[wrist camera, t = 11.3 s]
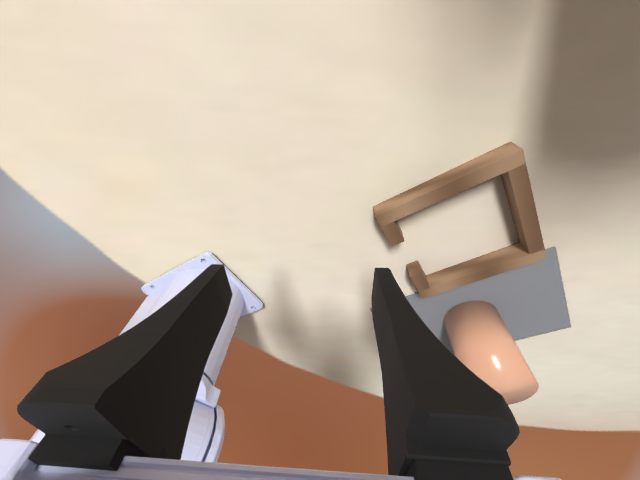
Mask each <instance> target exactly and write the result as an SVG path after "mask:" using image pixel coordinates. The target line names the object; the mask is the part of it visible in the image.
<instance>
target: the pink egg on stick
mask: <svg viewBox="0 0 640 480" xmlns="http://www.w3.org/2000/svg"><path fill="white" fill-rule="evenodd" d="M443 322H444V326H445V328H446V331H447V334H448V337H449V340H450V343H451V346H452V349H453V352H454V355H455V356H456V357H457V358H458V359H459V360H460V361H461V362H462V363H463V364H464V365H465V366H466V367H467V368H468V369H470V370H471V371H472V372H473V373H474V374H475V375H476V376H478V377H479V378H480V379H481V380H483V381H484V382H485V383H487V384H488V385H489V386H490V387H492V388H493V389H494V390H496V391H497V392H498V393H499V394H501V395H502V396H503V398H504V399H505V401H506V403H507V405H509V404H514V403H518V402H521V401H523V400H526V399H528V398H529V397H531V396H532V395H534V394H535V393H536V391H537V390H538V382H537V381H536V379H535V377H534V375H533V373H532V372H531V370H530V368H529V366H528V364H527V363H526V361H525V359H524V357H523V355H522V353H521V352H520V350H519V348H518V346H517V344H516V343H515V341H514V339H513V337H512V335H511V334H510V332H509V330H508V328H507V326H506V324H505V323H504V321H503V319H502V317H501V315H500V314H499V312H498V310H497V308H496V307H495V306H494V305H493V304H491V303H488V302H485V301H467V302H463V303H460V304H458V305H456V306H454V307H452V308H451V309H450V310H449V311H448V312H447V313H446V314H445V316H444V319H443Z"/></svg>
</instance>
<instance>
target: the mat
mask: <svg viewBox="0 0 640 480" xmlns="http://www.w3.org/2000/svg"><path fill="white" fill-rule="evenodd" d="M545 253H546V257H547V259H544V260H541V261H538V262H534V263H531V264H528V265H525V266H522V267H519V268H516V269H513V270H510V271H507V272H504V273H501V274H498V275H495V276H491V277H488V278H485V279H482V280H479V281H476V282H473V283H470V284H467V285H464V286H461V287H458V288H455V289H452V290H448V291H445V292H442V293H439V294H436V295H433V296H430V297H427V298H424V299H422V297H421V295H420V294H419V292H418V293H415V294H412V295H409V296H406V298H407V300H408V301H409V303H410V304H411V306H412V307H413V309H414V310H415V311H416V313H417V314H418V315H419V317H420V318H421V319H422V321H423V322H424V323H425V324H426V326H427V327H428V328H429V329H430V330H431V332H432V333H433V334H434V335H435V336H436V337H437V338H438V339H439V340H440V341H441V343H442V344H443V345H444V346H445V347H446V348H447V349H448V350H449V351H450V352H451V353H452V354H453V355H454V352H453V349H452V346H451V343H450V340H449V337H448V334H447V331H446V328H445V326H444V322H443V319H444V316H445V314H446V313H447V312H448V311H449V310H450V309H451V308H452V307H454V306H456V305H458V304H460V303H463V302H467V301H485V302H488V303H491V304H493V305H494V306H495V307H496V308H497V310H498V312H499V314H500V315H501V317H502V319H503V321H504V323H505V324H506V326H507V328H508V330H509V332H510V334H511V335H512V337H513V339H514V341H516V340H520V339H524V338H528V337H532V336H536V335H540V334H545V333H549V332H553V331H557V330H561V329H565V328H569V327H571V324H570V319H569V314H568V308H567V303H566V298H565V293H564V288H563V283H562V278H561V272H560V267H559V262H558V257H557V252H556V248H555V247H552V248H549V249H546V250H545ZM371 311H372V308H371Z"/></svg>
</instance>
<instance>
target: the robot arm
mask: <svg viewBox="0 0 640 480" xmlns="http://www.w3.org/2000/svg"><path fill="white" fill-rule="evenodd" d="M204 259H205V260H204ZM142 291H143V292H144V293H145V294H147V295H148V297H147V298H146V299H145V301H144V302H143V303H142V305H141V306H140V308H139V309H138V311H137V312H136V313H135V314H134V316H133V317H132V318H131V320H130V321H129V323H128V324H127V325H126V326H125V328H124V329H123V331H122V332H121V333H120V335H119V336H117V337H116V338H114V339H113V340H111V341H109V342H107V343H105V344H104V345H102V346H100V347H98V348H96V349H95V350H92V351H90V352H89V353H87V354H85V355H83V356H81V357H79V358H76V359H74V360H72V361H70V362H68V363H66V364H64V365H61V366H59V367H57V368H55V369H53V370H51V371H48V372H46V374H45V375H44V376H43V377H42V378H41V379H40V381H39V382H38V383H37V384H36V385H35V386H34V387H33V389H32V390H31V391H30V392H29V393H28V394H27V395H26V396H25V398H24V399H23V400H22V401H21V402H20V403H19V405H18V407H17V411H18V413H19V415H20V416H21V417H22V418H23V419H25V420H26V421H27V422H29V423H30V424H32V425H33V426H35V427H36V428H37V429H38V430H37V431H36V433H35V434H34V435H33V436H32V438H31V439H30V440H17V439H4V438H3V439H0V480H561V479H559V478H554V477H539V476H516V477H513V478H512V475H511V472H510V470H509V467H508V466H510V465H511V462H510V458H509V456H508V453H507V451H506V450H507V448H508V447H509V446H510V445H511V444H512V443H513V442H514V441H515V440H516V438H517V437H518V435H519V433H520V432H519V427H518V425H517V422H516V420H515V418H514V416H513V414H512V412H511V410H510V408H509V406H508V405H507V403H506V401H505V399H504V398H503V396H502V395H501V394H499V393H498V392H497V391H496V390H494V389H493V388H492V387H490V386H489V385H488V384H487V383H485V382H484V381H483V380H481V379H480V378H479V377H478V376H476V375H475V374H474V373H473V372H472V371H471V370H470V369H468V368H467V367H466V366H465V365H464V364H463V363H462V362H461V361H460V360H459V359H458V358H457V357H456V356H454V355H453V354H452V353H451V352H450V351H449V350H448V349H447V348H446V347H445V346H444V345H443V344H442V343H441V341H440V340H439V339H438V338H437V337H436V336H435V335H434V334H433V333H432V332H431V330H430V329H429V328H428V327H427V326H426V324H425V323H424V322H423V321H422V319H421V318H420V317H419V315H418V314H417V313H416V311H415V310H414V309H413V307H412V306H411V304H410V303H409V301H408V300H407V298H406V297H405V295H404V294H403V292H402V291H401V289H400V287H399V285H398V284H397V282H396V280H395V278H394V276H393V274H392V272H391V270H390V269H389V268H375V272H374V281H373V290H372V314H373V323H374V328H375V334H376V340H377V346H378V351H379V357H380V363H381V370H382V380H383V393H384V406H385V420H386V437H387V453H388V472H389V473H388V474H389V475H379V474H365V473H352V472H338V471H325V470H310V469H297V468H284V467H270V466H256V465H243V464H229V463H217V460H218V458H219V455H220V452H221V448H222V445H223V441H224V435H225V421H224V420H225V419H224V412H223V410H222V408H221V407H220V406H218V405H216V404H217V401H218V398H219V395H220V393H221V391H220V390H219V389H217V388H216V387H214V385H215V383H216V380H217V378H218V375H219V372H220V369H221V367H222V364H223V361H224V358H225V356H226V353H227V350H228V347H229V344H230V342H231V339H232V336H233V334H234V331H235V328H236V325H237V323H238V320H239V317H242V316H244V315H247V314H250V313H252V312H255V311H257V310H260V309H262V307H263V303H262V302H261V301H260V300H259V299H258V298H257V297H256V296H255V295H254V294H253V293H252V292H251V291H250V290H249V289H248V288H247V287H246V286H245V285H244V284H243V283H242V282H241V281H240V280H239V279H238V278H237V277H236V276H235V275H234V274H233V273H232V272H231V271H230V270H229V269H228V268H227V267H226V266H224V264H222V263H221V262H220V261H219V260H218V259H217V258H216V257H215V256H214V255H213V254H212V253H210V252H205V253H203V254H201V255H199V256H198V257H196V258H194V259H192V260H190V261H188V262H186V263H184V264H183V265H181V266H179V267H177V268H175V269H173V270H171V271H169V272H167V273H166V274H164V275H162V276H160V277H158V278H156V279H154V280H152V281H151V282H149V283H147V284H145V285H144V286H143V287H142Z"/></svg>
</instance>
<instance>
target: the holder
mask: <svg viewBox="0 0 640 480" xmlns="http://www.w3.org/2000/svg"><path fill="white" fill-rule="evenodd" d="M498 175H501V176H502V180H503V184H504V187H505V191H506V194H507V198H508V202H509V205H510V209H511V212H512V216H513V220H514V223H515V227H516V231H517V234H518V238H519V241H520V243H517V244H514V245H511V246H508V247H506V248H503V249H500V250H497V251H494V252H492V253H489V254H486V255H483V256H480V257H477V258H475V259H472V260H469V261H466V262H463V263H460V264H458V265H455V266H452V267H449V268H446V269H443V270H441V271H438V272H435V273H432V274H429V275H425V273H424V271H423V270H422V268H421V266H420V264H419V262H418V261H415V262H412V263H410V264H407V269H408V272H409V276H410V278H411V280H412V282H413V283H414V285H415V287H416V288H417V290H418V292H419V294H420V295H421V297H422V299H424V298H427V297H430V296H433V295H436V294H439V293H442V292H445V291H448V290H452V289H455V288H458V287H461V286H464V285H467V284H470V283H473V282H476V281H479V280H482V279H485V278H488V277H491V276H495V275H498V274H501V273H504V272H507V271H510V270H513V269H516V268H519V267H522V266H525V265H528V264H531V263H534V262H538V261H541V260H544V259H547V257H546V253H545V248H544V244H543V239H542V235H541V230H540V226H539V221H538V217H537V212H536V208H535V203H534V199H533V194H532V189H531V185H530V180H529V176H528V171H527V167H526V162H525V158H524V153H523V149H521V148H520V147H518V146H517V145H515V144H514V143H512V142H509V143H507V144H505V145H503V146H501V147H498V148H496V149H494V150H492V151H490V152H488V153H486V154H484V155H482V156H479V157H477V158H475V159H473V160H471V161H469V162H467V163H465V164H462V165H460V166H458V167H456V168H454V169H452V170H450V171H448V172H446V173H443V174H441V175H439V176H437V177H435V178H433V179H431V180H429V181H427V182H424V183H422V184H420V185H418V186H416V187H414V188H412V189H410V190H407V191H405V192H403V193H401V194H399V195H397V196H395V197H393V198H391V199H388V200H386V201H384V202H382V203H380V204H378V205H376V206H374V207H373V208H374V214H375V218H376V220H377V221H378V223H379V225H380V227H381V228H382V230H383V232H384V233H385V235H386V237H387V239H388V240H389V242H390V244H391V245H392V246H394V245H396V244H399V243H401V242H404V238H403V234H402V231H401V229H400V227H399V225H398V223H397V221H396V220H398V219H401V218H403V217H405V216H408V215H410V214H412V213H414V212H417V211H419V210H421V209H423V208H426V207H428V206H430V205H433V204H435V203H437V202H439V201H442V200H444V199H446V198H448V197H451V196H453V195H455V194H458V193H460V192H462V191H464V190H467V189H469V188H471V187H473V186H476V185H478V184H480V183H483V182H485V181H487V180H489V179H492V178H494V177H496V176H498Z"/></svg>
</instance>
